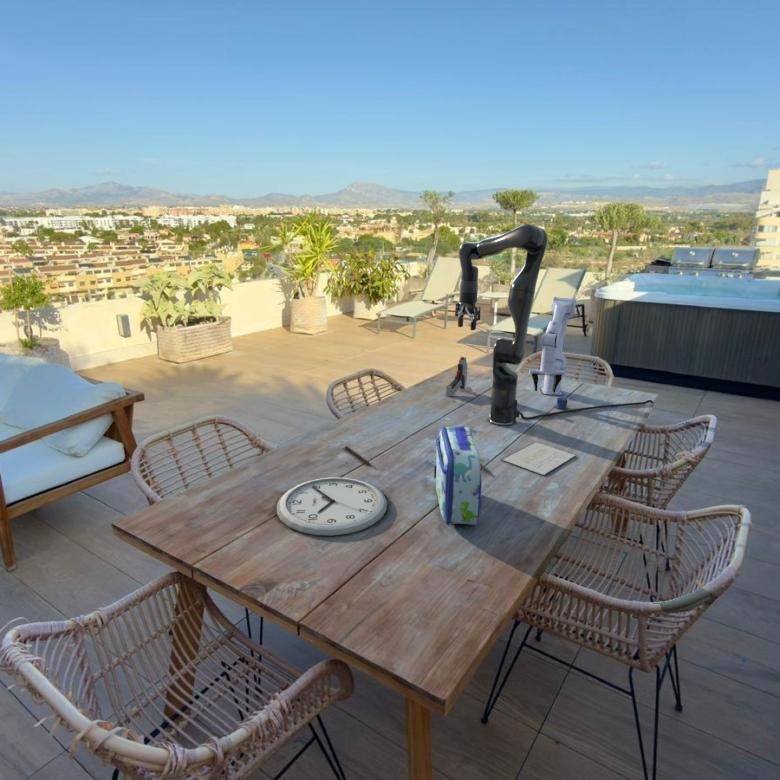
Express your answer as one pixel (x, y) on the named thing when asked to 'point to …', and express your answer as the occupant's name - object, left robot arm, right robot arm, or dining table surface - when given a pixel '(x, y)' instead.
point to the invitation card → (539, 458)
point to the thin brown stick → (357, 455)
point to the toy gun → (458, 378)
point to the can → (561, 403)
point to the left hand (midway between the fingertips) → (466, 328)
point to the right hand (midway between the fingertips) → (544, 391)
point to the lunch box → (458, 476)
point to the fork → (483, 468)
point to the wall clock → (331, 506)
